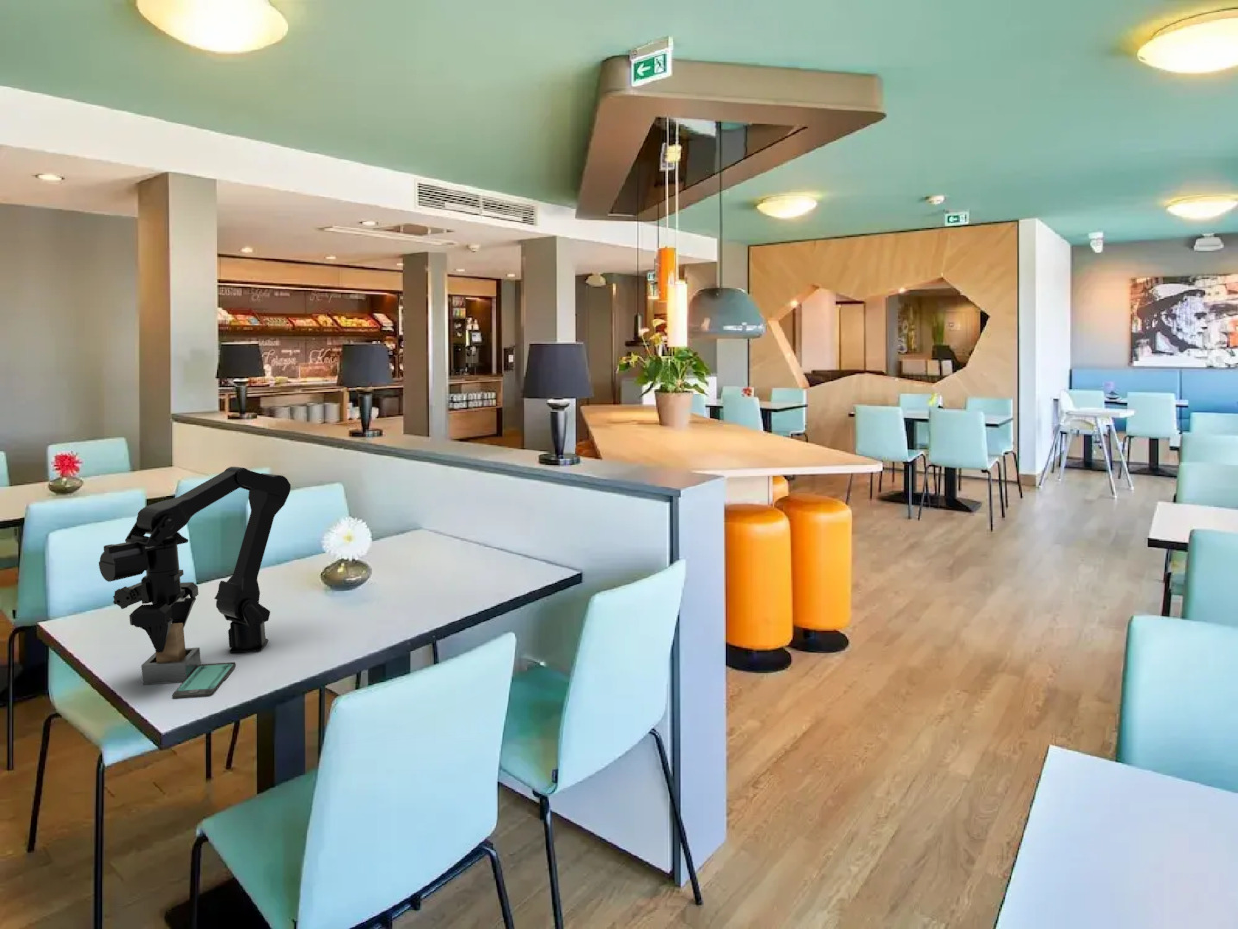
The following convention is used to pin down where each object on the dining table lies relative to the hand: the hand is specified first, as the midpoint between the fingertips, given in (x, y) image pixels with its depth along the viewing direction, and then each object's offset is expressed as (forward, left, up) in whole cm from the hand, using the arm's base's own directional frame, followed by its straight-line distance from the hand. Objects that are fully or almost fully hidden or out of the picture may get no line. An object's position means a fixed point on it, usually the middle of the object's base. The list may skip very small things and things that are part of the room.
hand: (169, 643), depth 157 cm
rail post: (0, 0, -6) cm, 7 cm away
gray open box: (0, 0, -7) cm, 7 cm away
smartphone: (-8, +4, -7) cm, 12 cm away
